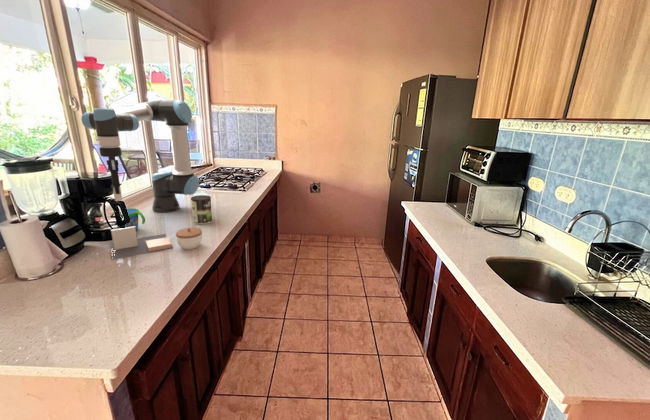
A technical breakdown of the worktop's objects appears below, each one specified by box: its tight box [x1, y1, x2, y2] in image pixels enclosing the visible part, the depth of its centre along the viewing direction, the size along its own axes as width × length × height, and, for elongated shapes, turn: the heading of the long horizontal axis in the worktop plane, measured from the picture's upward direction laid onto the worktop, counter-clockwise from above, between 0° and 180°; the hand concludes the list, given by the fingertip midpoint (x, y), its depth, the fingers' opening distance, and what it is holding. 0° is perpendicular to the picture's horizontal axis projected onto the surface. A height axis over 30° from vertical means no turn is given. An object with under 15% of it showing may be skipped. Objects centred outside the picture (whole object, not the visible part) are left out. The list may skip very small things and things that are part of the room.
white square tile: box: [110, 226, 138, 250], centre depth 133 cm, size 2×9×9 cm, turn 126°
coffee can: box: [190, 194, 213, 225], centre depth 170 cm, size 10×10×14 cm
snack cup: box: [110, 207, 146, 231], centre depth 154 cm, size 16×10×10 cm
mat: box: [108, 233, 174, 261], centre depth 137 cm, size 20×23×1 cm
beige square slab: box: [146, 236, 172, 252], centre depth 137 cm, size 2×9×9 cm
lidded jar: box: [175, 227, 203, 250], centre depth 137 cm, size 11×11×9 cm
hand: (118, 200), depth 135 cm, fingers closed
